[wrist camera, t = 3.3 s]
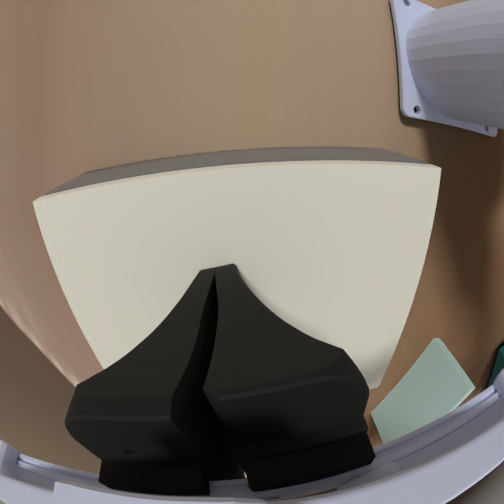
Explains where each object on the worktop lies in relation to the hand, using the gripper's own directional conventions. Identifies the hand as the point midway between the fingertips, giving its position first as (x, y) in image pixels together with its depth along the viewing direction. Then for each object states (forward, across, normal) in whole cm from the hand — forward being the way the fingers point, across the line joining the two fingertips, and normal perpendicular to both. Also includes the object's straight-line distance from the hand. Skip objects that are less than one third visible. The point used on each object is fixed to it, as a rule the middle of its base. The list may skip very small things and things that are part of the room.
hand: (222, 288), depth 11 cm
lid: (+1, -1, +3) cm, 3 cm away
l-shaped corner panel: (+6, -19, +22) cm, 30 cm away
